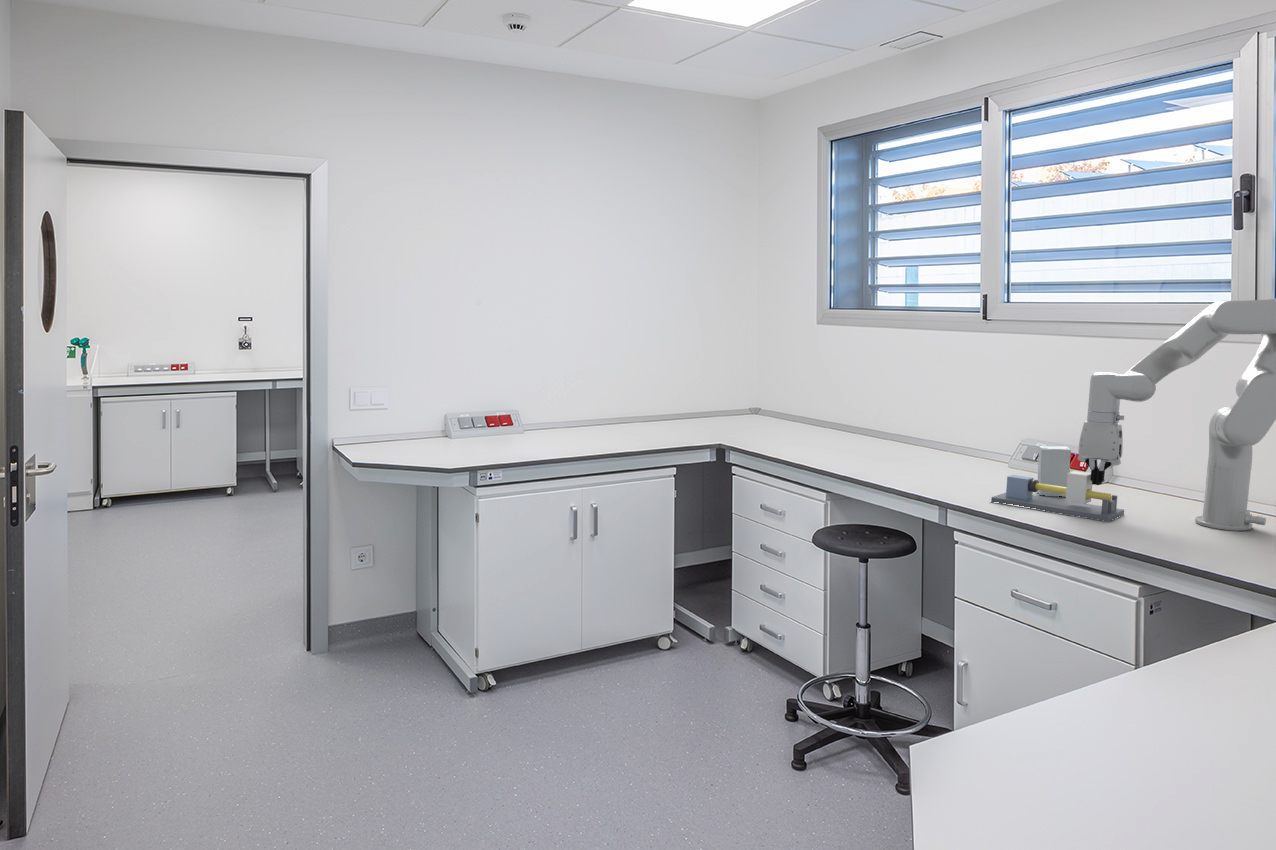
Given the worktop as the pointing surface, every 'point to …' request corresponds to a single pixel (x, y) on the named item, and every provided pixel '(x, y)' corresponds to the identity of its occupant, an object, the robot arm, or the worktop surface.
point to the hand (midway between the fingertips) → (1096, 483)
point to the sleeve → (1078, 487)
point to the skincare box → (1053, 467)
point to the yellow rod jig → (1024, 487)
